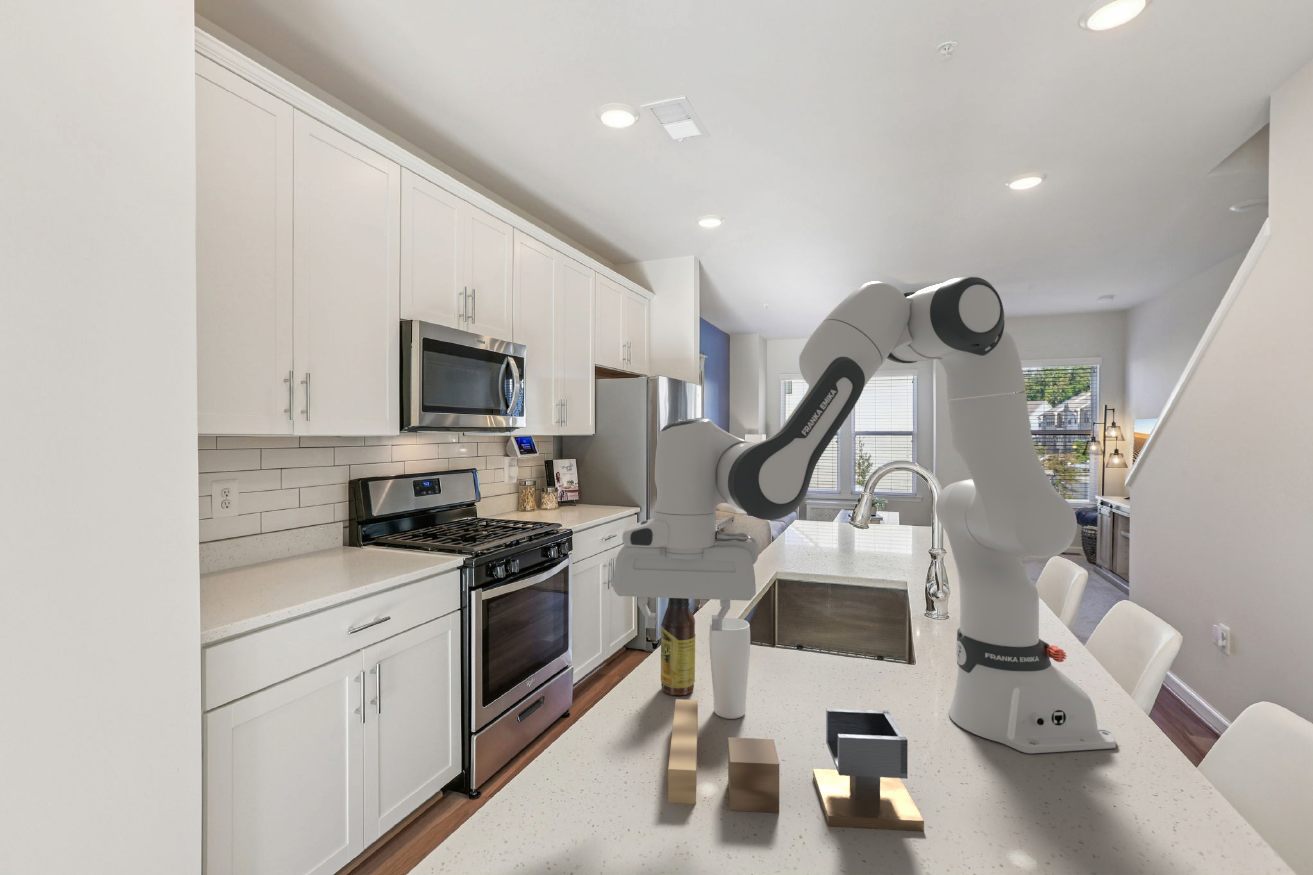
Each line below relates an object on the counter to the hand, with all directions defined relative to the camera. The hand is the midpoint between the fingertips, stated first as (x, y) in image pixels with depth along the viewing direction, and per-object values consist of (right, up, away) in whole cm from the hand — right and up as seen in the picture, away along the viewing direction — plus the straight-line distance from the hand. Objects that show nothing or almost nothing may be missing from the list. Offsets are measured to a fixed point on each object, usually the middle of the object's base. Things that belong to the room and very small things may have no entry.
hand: (683, 628), depth 85 cm
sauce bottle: (0, -19, +23) cm, 30 cm away
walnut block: (+9, -19, -9) cm, 22 cm away
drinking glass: (+8, -19, +14) cm, 25 cm away
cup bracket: (+22, -19, -10) cm, 31 cm away
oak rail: (0, -19, 0) cm, 19 cm away
